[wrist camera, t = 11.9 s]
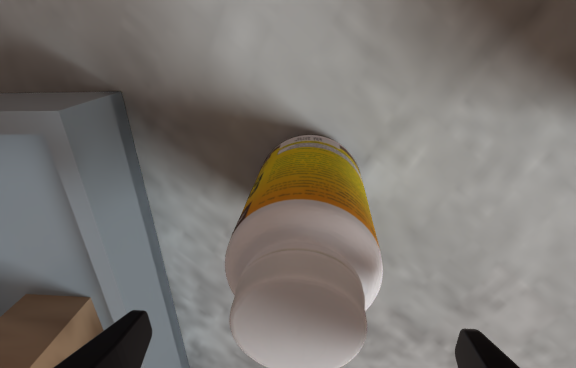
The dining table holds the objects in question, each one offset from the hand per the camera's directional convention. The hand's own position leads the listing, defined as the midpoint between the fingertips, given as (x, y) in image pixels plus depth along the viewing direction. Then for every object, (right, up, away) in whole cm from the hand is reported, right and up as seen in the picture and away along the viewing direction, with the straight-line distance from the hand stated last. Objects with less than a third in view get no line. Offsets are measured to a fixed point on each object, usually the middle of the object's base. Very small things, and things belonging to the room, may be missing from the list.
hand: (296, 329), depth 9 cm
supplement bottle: (+1, +5, +9) cm, 10 cm away
